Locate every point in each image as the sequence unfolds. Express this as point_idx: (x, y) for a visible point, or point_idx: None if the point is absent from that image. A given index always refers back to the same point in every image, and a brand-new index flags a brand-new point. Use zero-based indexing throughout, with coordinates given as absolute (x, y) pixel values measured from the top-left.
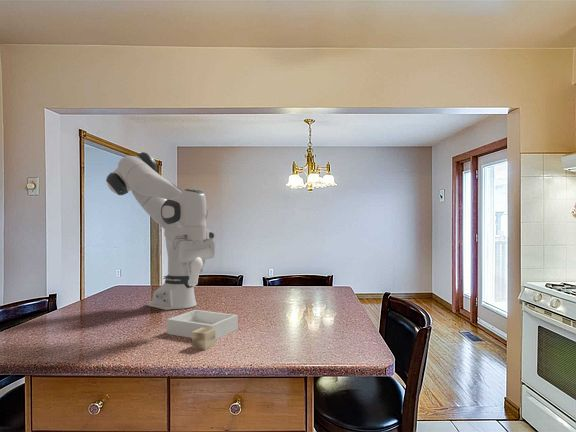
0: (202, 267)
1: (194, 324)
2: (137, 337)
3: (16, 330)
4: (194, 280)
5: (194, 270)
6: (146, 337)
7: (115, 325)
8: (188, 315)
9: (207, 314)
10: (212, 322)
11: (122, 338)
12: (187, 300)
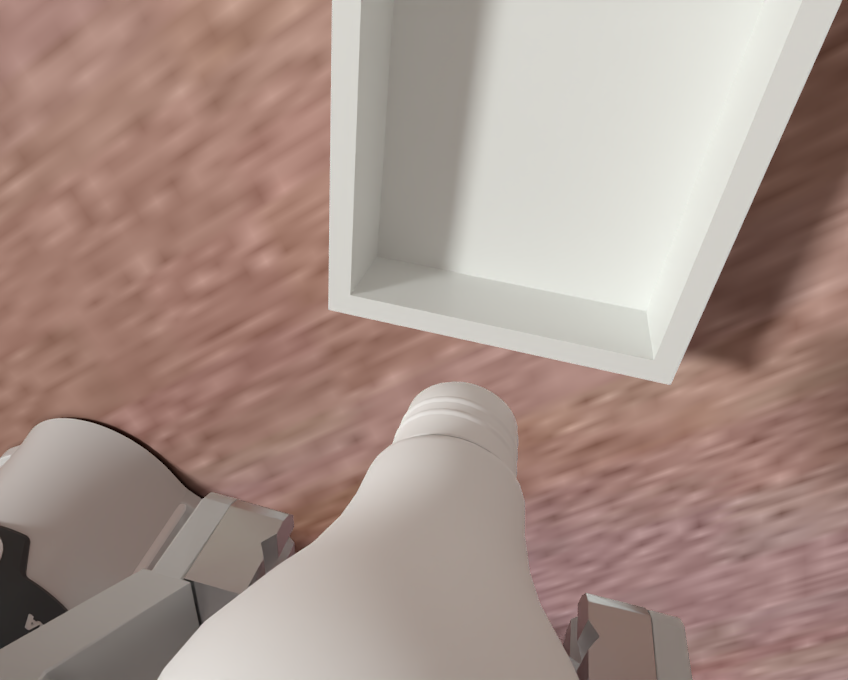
0: (163, 571)
1: (802, 77)
2: (761, 445)
3: None
4: (502, 450)
5: (547, 621)
6: (757, 401)
7: (550, 604)
8: (445, 303)
9: (361, 165)
10: (384, 91)
11: (787, 504)
12: (92, 471)
